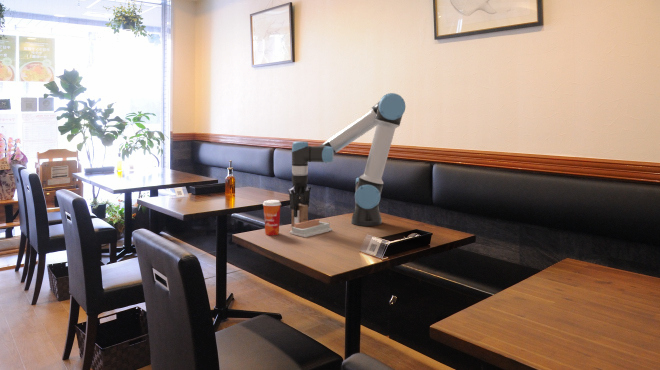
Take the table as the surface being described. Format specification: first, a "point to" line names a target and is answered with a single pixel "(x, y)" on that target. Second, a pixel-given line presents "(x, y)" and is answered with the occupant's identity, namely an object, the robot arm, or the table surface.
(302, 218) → the brown rectangular block
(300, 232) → the white rectangular tray
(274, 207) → the coffee cup
